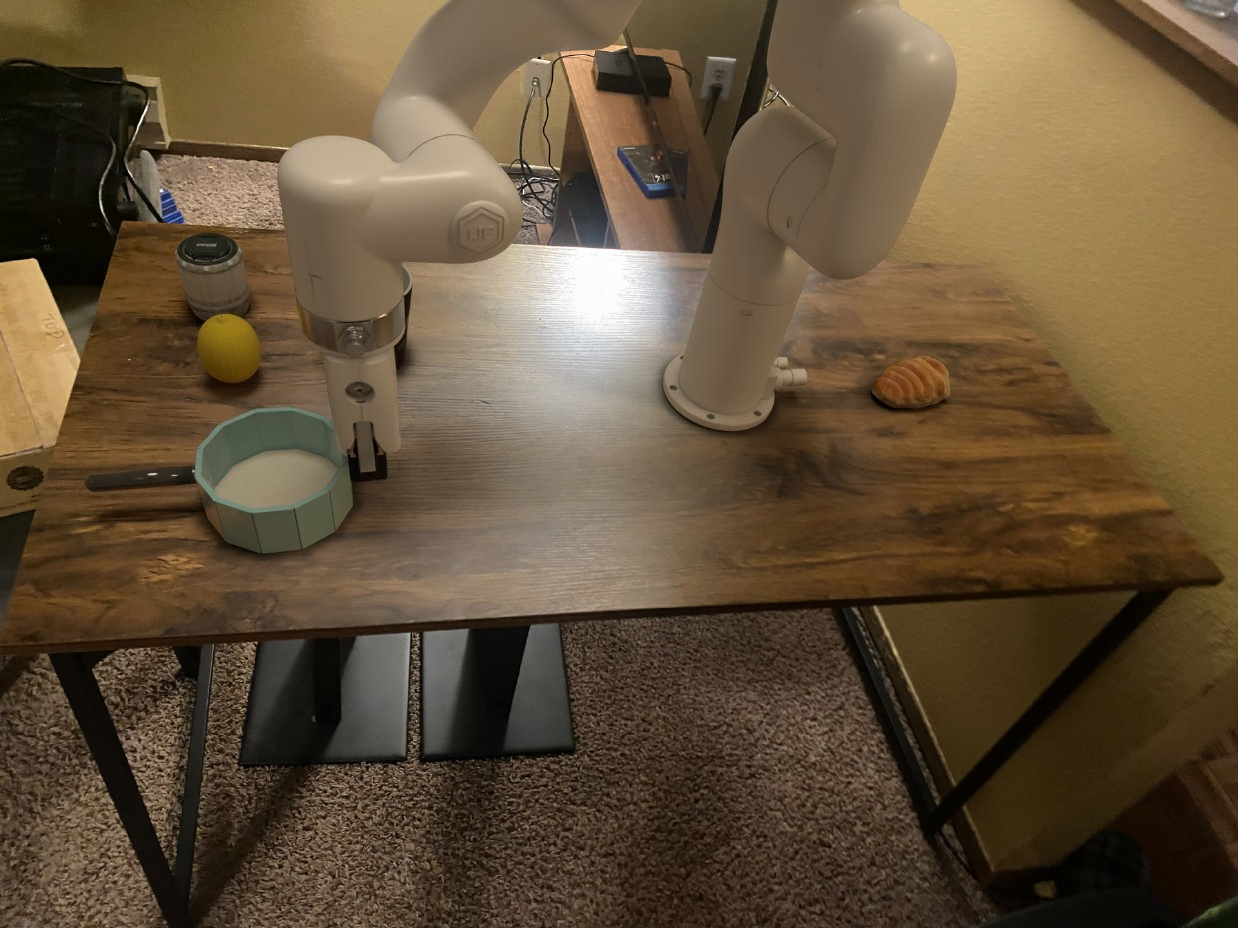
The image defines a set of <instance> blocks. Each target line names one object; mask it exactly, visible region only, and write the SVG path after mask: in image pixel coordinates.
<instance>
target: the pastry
mask: <svg viewBox="0 0 1238 928" xmlns="http://www.w3.org/2000/svg"><path fill="white" fill-rule="evenodd" d="M950 387H951V382H950V373H949V370H948V369H947V368H946V366H945V365H944V364H943V363H942V362H941V361H940V360H939V359H937V358H933V357H931V356H930V355H919V356H917V357H912V358H911V357H909V358H905V359H901V360H899V361H897V362H894V363H892V364H891V365H889V366H887V367H886V368H885V369H884V370H882V372H881V373H880V375H879V376H878V377H877V378H875V379H874V383H873V386H872V389H871V394H872V395H874V396H875V398H876V399H877V400H879V401H880V402H882V403H883V404H884V405H886V406H887V407H890V408H893V409H896V408H897V409H902V408H903V409H904V408H905V409H919V408H925V407H928V406H930V405H931V406H932V405H936V404H938V403H940V402H941V401H943V400H946V399H948V397H950V395H951V388H950Z"/></svg>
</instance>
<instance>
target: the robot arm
mask: <svg viewBox="0 0 1238 928" xmlns="http://www.w3.org/2000/svg"><path fill="white" fill-rule="evenodd" d="M642 2H643V0H447V1H445V2H444V3H443V4H441V6H440V7H438V8H437V9H436V10H435V11H434V12H433V13H432V14H431V15H430V16H429V17H428V18H427V20H425V22H424V23H423V24H422V25H421V27H420V28H419V29H418V31H417V32H416V34H415V35H414V36H413V37H412V38H411V39H412V40H411V41H410V43H409V44H408V46H407V47H406V49H405V50H404V53H403V55H402V57H401V59H400V60H399V62H398V64H397V66H396V68H395V70H394V72H393V74H392V76H391V78H390V80H389V81H388V83H387V85H386V87H385V90H384V91H383V93H382V95H381V98H380V100H379V101H378V104H377V107H376V110H375V112H374V115H373V118H372V122H371V126H370V131H369V135H368V136H369V137H368V138H369V139H368V141H369V142H368V141H366V140H364V139H360V138H357V137H353V136H346V135H336V134H335V135H320V136H314V137H309V138H306V139H303V140H301V141H298V142H297V143H295V144H293V145H291V146H290V147H289V148H288V149H287V150H286V151H285V152H284V153H283V155H282V156H281V158H280V160H279V162H278V166H277V170H276V173H277V174H276V180H277V181H276V182H277V190H278V196H279V202H280V208H281V214H282V219H283V220H282V221H283V226H284V232H285V239H286V245H287V251H288V252H287V253H288V257H289V263H290V269H291V275H292V281H293V288H294V295H295V301H296V306H297V313H298V320H299V325H300V331H301V335H302V337H303V339H304V340H305V342H306V343H307V344H308V345H309V346H310V347H311V348H313V349H315V351H318V352H320V353H321V358H322V359H321V360H322V367H323V371H324V378H325V384H326V385H325V386H326V391H327V396H328V401H329V408H330V413H331V418H332V423H333V424H334V428H335V433H336V437H337V442H338V447H339V450H340V452H341V453H342V454H343V455H345V456H348V461H349V470H350V478H351V481H352V483H363V482H365V483H366V482H375V481H377V482H378V481H385V480H387V479H388V478H389V471H388V461H387V460H388V459H387V457H388V456H387V454H392V453H394V454H395V453H397V452H399V450H400V449H401V448H402V440H401V439H402V438H401V426H400V411H399V396H398V393H399V392H398V379H397V370H396V364H395V354H394V346H395V345H396V344H397V343H398V342H399V341H400V339H401V338H402V336H403V334H404V331H405V310H404V290H403V269H402V264H403V263H424V264H442V265H443V264H444V265H450V264H451V265H462V264H465V265H466V264H474V263H478V262H479V263H480V262H484V261H486V260H489V259H492V258H495V257H496V256H498V255H500V254H502V253H503V252H504V251H506V250H507V249H508V248H509V247H510V246H511V245H512V244H513V243H514V242H515V240H516V239H517V237H518V235H519V233H520V231H521V228H522V225H523V217H524V209H523V203H522V199H521V195H520V193H519V191H518V189H517V187H516V186H515V184H514V182H513V181H512V179H511V177H510V176H509V175H508V174H507V172H506V171H505V170H504V169H503V168H502V166H501V165H500V163H498V161H497V160H496V159H495V158H494V156H493V155H492V154H491V153H490V152H489V150H487V148H486V147H485V145H484V144H483V143H482V142H481V141H480V139H479V138H478V137H477V135H476V134H475V133H474V131H473V130H474V128H475V126H476V125H477V123H478V121H479V119H480V117H481V115H482V113H484V110H485V109H486V107H487V105H488V104H489V102H490V100H491V99H492V97H493V96H494V95H495V94H496V92H497V91H498V89H499V88H500V87H501V85H502V84H503V83H504V81H506V79H508V78H509V76H511V75H512V74H513V73H514V72H515V71H516V70H518V69H519V68H520V67H522V66H523V65H525V64H526V63H528V62H530V61H532V60H534V59H536V58H539V57H542V56H545V55H549V54H554V53H565V52H577V51H598V50H599V51H600V50H604V49H606V48H609V47H610V46H612V45H614V44H615V43H616V42H617V41H618V40H619V39H620V38H621V36H622V34H623V33H624V31H625V30H626V28H627V26H628V25H629V23H630V21H631V20H632V18H633V16H634V15H635V13H636V11H637V10H638V8H639V7H640V5H641V4H642ZM768 42H769V43H768V48H767V55H766V68H767V75H768V77H769V81H770V83H771V84H772V86H773V87H774V88H775V90H776V91H777V92H778V93H779V94H780V96H781V97H782V98H784V100H786V101H787V102H788V103H789V104H791V105H774V106H769V107H766V108H764V109H762V110H759V111H758V112H756V113H755V114H753V115H752V116H751V117H750V118H748V119H747V120H746V121H745V122H744V124H743V125H741V127H740V128H739V130H738V131H737V133H736V134H735V136H734V138H733V140H732V142H731V145H730V147H729V150H728V152H727V153H728V154H727V156H726V160H725V167H724V171H723V172H724V173H723V182H722V183H723V185H722V201H721V211H720V218H719V224H718V229H717V234H716V237H715V242H714V244H713V245H714V246H713V249H712V253H711V257H710V260H709V263H708V266H707V269H706V270H707V271H706V273H705V278H704V281H703V285H702V288H701V291H700V296H699V299H698V303H697V307H696V310H695V314H694V318H693V321H692V324H691V328H690V331H689V336H688V339H687V343H686V346H685V350H684V352H682V353H679V354H678V355H677V356H675V357H674V358H672V359H671V361H670V362H669V363H668V364H667V366H666V368H665V371H664V373H663V378H662V388H663V392H664V395H665V397H666V399H667V400H668V402H669V403H670V405H671V406H672V407H673V408H674V409H675V410H676V411H677V412H678V413H679V414H680V415H682V416H683V417H685V418H686V419H688V420H689V421H691V422H693V423H695V424H697V425H699V426H702V427H705V428H709V429H712V430H716V431H725V432H739V431H744V430H749V429H752V428H755V427H757V426H759V425H760V424H762V423H763V422H764V421H765V420H766V419H767V418H769V415H770V414H771V412H772V410H773V406H774V404H775V396H776V395H775V390H776V391H777V390H781V388H782V387H783V386H785V387H786V386H788V387H799V386H800V387H801V386H805V385H806V384H807V381H808V372H807V371H806V369H805V368H803V367H802V368H788V366H789V360H788V357H787V356H778V355H779V352H780V350H781V347H782V344H783V342H784V338H785V336H786V334H787V331H788V328H789V326H790V323H791V320H792V318H793V315H794V312H795V310H796V307H797V306H798V302H799V300H800V297H801V294H802V293H803V290H804V287H805V285H806V282H807V278H808V275H809V272H810V267H811V268H813V269H814V270H815V271H817V272H818V273H819V274H821V275H823V276H825V277H828V278H831V279H834V280H838V281H839V280H841V281H843V280H845V281H847V280H853V279H856V278H860V277H862V276H864V275H866V274H868V273H869V272H871V271H872V270H873V269H875V268H876V267H877V266H878V265H879V264H880V263H881V262H883V260H884V259H885V258H886V257H887V256H888V255H889V253H890V252H891V251H892V249H893V248H894V247H895V245H896V243H897V241H898V240H899V238H900V236H901V235H902V232H903V231H904V228H905V227H906V224H907V222H908V220H909V217H910V215H911V213H912V211H913V208H914V206H915V203H916V202H917V201H916V200H917V198H918V196H919V193H920V191H921V188H922V186H923V183H924V180H925V178H926V176H927V173H928V171H929V169H930V165H932V161H933V158H934V156H935V153H936V151H937V150H938V149H937V148H938V147H939V144H940V141H941V139H942V136H943V135H944V132H945V129H946V126H947V123H948V120H949V118H950V114H951V112H952V109H953V106H954V103H955V98H956V93H957V85H958V84H957V83H958V71H957V63H956V58H955V55H954V52H953V50H952V47H950V45H949V43H948V42H947V40H946V39H945V38H944V37H943V36H942V35H941V34H940V33H939V32H938V31H936V30H935V29H934V28H932V27H931V26H929V25H928V24H927V23H925V22H923V21H921V20H920V19H918V18H916V17H914V16H913V15H911V14H910V13H908V12H907V11H905V10H903V9H902V7H901V5H900V2H899V0H777V3H776V7H775V13H774V17H773V22H772V26H771V32H770V36H769V41H768ZM787 368H788V369H787Z"/></svg>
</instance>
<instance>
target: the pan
mask: <svg viewBox="0 0 1238 928" xmlns="http://www.w3.org/2000/svg"><path fill="white" fill-rule="evenodd" d="M84 485H85V489H87V490H88V491H90V492H91V493H104V492H117V491H130V490H142V489H156V488H168V487H179V486H191V485H196V486H197V489H198V493H199V495H200V498H201V501H202V505H203V508H204V511H205V514H206V518H207V520H208V521H209V523H210V524H211V526H213V528H214V530H216V531H217V533H218V534H219V535H220V536H221V538H222V539H223V540H224V542H226V543H227V544H230V545H233V546H236V547H238V548H241V549H242V548H243V549H245V550H249V551H252V552H254V553H257V554H262V555H265V554H275V553H282V552H283V553H284V552H292V551H294V552H295V551H301V550H304V549H306V548H308V547H310V546H312V545H313V544H316V543H317V542H319V541H321V540H322V539H324V538H326V537H328V536H330V535H331V534H333V533H336V531H337V530H338V529H339V527H340V526H341V524H342V523H343V521H344V520H345V518H346V517H347V515H348V514H349V512H350V511H351V510H352V508H353V506H354V498H353V497H354V496H353V482H352V481H351V478H350V470H349V461H348V456H345V455H343V454H342V453H341V452H340V450H339V447H338V442H337V437H336V433H335V428H334V423H333V421H331V420H330V419H329V418H328V417H326V416H324V415H321V414H318V413H315V412H312V411H309V410H306V409H303V408H299V407H296V406H278V407H264V408H262V407H261V408H255V409H254V408H253V409H251V410H248V411H245V412H244V413H242V414H238V415H237V416H234V417H232V418H229V419H227V420H225V421H223V422H220V424H219V423H218V424H217V425H216V426H215V428H214V429H213V430H212V431H211V432H210V433H209V435H208V436H206V438H205V439H204V440H203V441H202V442H201V444H200V445H198V447H197V449H196V454H195V464H193V465H179V466H178V465H177V466H167V467H166V466H165V467H155V468H154V467H152V468H142V469H141V468H137V469H126V470H125V469H124V470H114V471H113V470H112V471H99V472H92V473H90V474H88V475H87V476H86V477H85V479H84Z"/></svg>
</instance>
